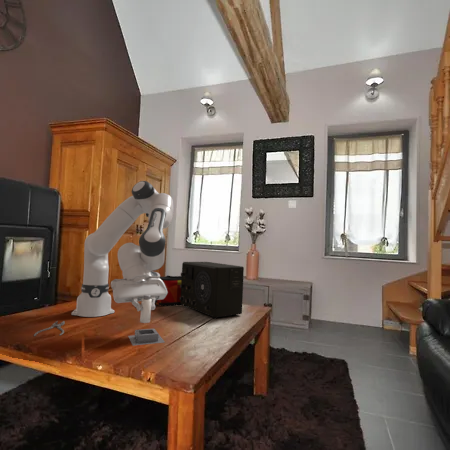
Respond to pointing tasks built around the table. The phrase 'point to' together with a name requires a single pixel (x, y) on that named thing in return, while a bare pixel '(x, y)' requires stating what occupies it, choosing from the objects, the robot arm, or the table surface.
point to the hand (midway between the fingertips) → (146, 309)
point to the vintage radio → (212, 288)
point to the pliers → (53, 327)
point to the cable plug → (146, 309)
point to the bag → (171, 291)
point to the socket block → (145, 337)
